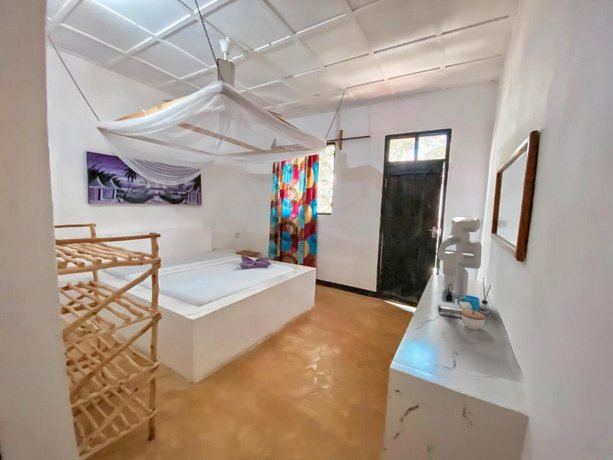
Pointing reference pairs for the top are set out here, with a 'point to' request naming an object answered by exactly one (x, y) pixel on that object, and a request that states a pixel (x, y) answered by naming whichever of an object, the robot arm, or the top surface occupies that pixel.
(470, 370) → the top surface
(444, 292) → the block
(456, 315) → the rail plate
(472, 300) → the mug
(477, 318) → the lidded jar
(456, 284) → the robot arm
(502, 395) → the top surface
